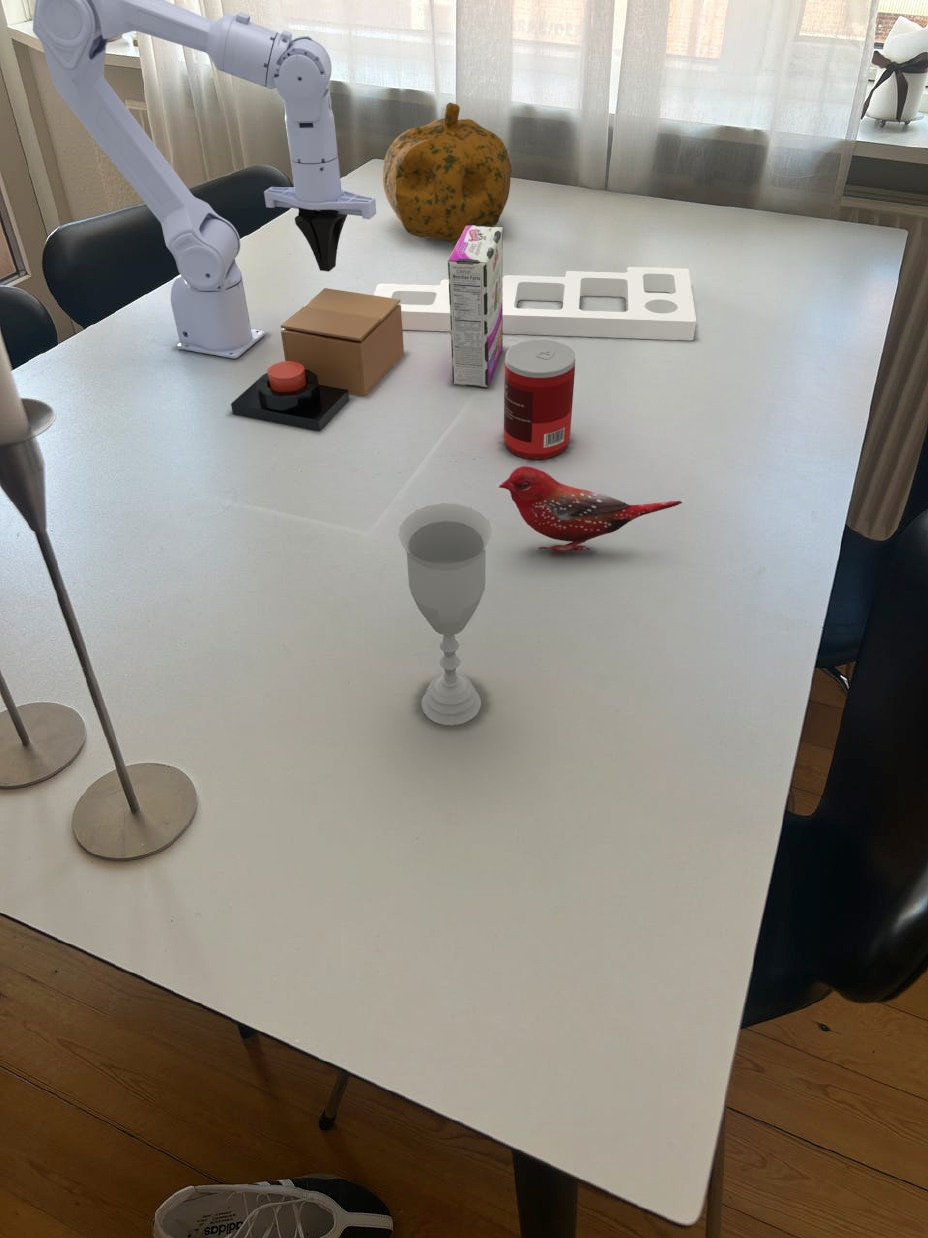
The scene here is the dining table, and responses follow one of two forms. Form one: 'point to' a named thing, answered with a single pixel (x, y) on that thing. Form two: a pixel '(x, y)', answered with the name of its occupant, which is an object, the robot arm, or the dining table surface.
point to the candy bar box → (476, 305)
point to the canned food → (538, 398)
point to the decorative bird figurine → (570, 509)
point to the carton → (344, 346)
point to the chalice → (447, 594)
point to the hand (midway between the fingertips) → (327, 268)
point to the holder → (569, 304)
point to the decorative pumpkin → (447, 177)
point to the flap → (353, 303)
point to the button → (287, 376)
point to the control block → (292, 403)
